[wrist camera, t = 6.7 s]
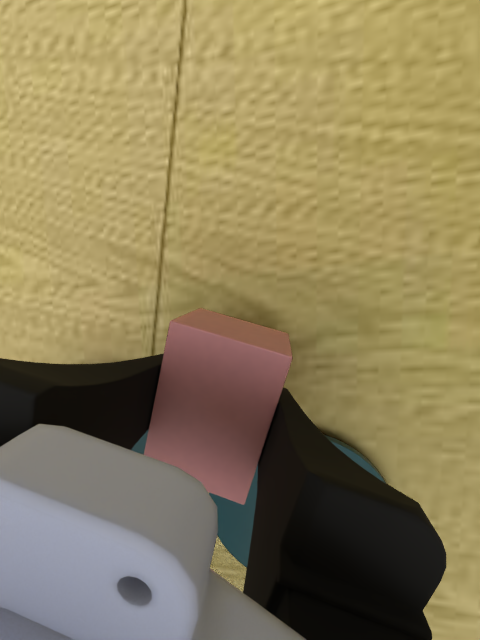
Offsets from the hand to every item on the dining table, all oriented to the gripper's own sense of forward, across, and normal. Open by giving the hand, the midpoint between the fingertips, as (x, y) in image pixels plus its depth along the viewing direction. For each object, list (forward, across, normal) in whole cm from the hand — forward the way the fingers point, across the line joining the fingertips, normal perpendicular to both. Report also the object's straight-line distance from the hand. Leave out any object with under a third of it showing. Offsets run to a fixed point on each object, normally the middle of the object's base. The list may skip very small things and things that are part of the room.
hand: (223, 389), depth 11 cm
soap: (+1, 0, 0) cm, 1 cm away
